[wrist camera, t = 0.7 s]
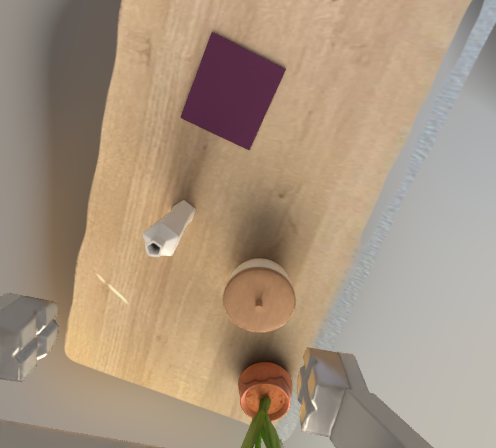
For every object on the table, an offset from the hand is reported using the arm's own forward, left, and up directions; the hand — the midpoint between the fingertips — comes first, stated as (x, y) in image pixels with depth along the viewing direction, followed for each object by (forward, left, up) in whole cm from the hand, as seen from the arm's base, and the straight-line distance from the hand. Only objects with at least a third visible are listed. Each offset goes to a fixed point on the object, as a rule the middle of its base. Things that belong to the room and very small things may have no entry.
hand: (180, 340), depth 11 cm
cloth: (-8, -6, -41) cm, 42 cm away
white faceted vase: (+12, -6, -42) cm, 44 cm away
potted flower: (+36, +21, -42) cm, 59 cm away
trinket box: (+17, +10, -41) cm, 46 cm away
